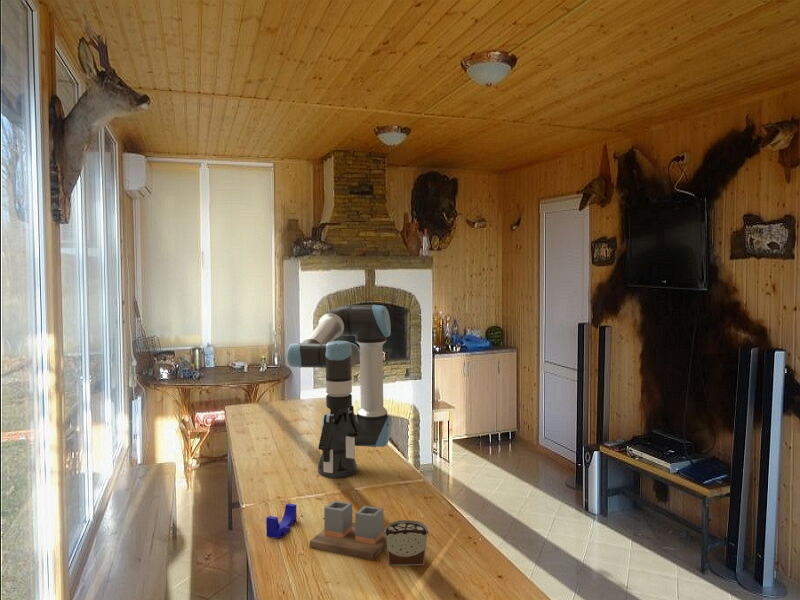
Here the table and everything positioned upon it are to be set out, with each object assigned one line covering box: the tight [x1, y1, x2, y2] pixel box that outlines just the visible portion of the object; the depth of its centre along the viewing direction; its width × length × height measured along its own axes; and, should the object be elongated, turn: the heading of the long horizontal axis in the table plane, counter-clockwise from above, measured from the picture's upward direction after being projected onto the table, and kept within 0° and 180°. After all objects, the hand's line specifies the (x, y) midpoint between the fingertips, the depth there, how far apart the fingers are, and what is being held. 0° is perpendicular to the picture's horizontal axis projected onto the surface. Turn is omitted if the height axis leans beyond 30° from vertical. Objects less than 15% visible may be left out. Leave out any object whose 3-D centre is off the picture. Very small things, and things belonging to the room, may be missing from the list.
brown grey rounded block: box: [383, 519, 430, 567], centre depth 163 cm, size 12×6×10 cm, turn 92°
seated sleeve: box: [354, 505, 384, 545], centre depth 171 cm, size 6×6×8 cm
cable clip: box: [265, 502, 297, 540], centre depth 182 cm, size 12×4×6 cm, turn 159°
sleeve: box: [323, 500, 353, 538], centre depth 175 cm, size 6×6×8 cm
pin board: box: [309, 508, 387, 562], centre depth 173 cm, size 16×20×9 cm
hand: (339, 464), depth 177 cm, fingers open, 13 cm apart
